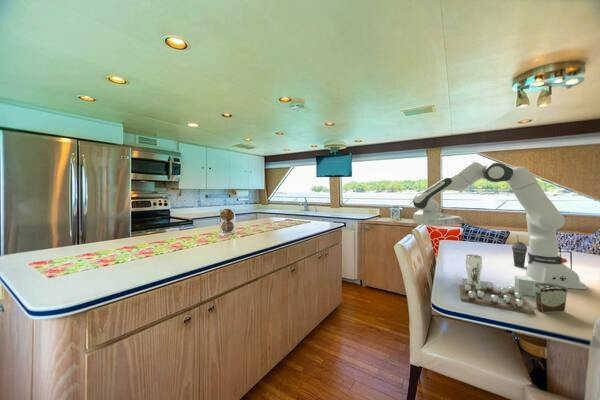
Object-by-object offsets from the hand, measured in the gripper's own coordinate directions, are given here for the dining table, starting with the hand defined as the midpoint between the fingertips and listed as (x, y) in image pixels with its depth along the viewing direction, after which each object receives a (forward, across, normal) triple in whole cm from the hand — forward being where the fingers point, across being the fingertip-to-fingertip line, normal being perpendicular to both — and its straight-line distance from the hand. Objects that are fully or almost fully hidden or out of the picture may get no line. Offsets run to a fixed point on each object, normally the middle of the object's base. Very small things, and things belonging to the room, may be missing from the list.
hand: (460, 221), depth 140 cm
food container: (+40, -10, +32) cm, 52 cm away
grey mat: (+12, -7, +31) cm, 34 cm away
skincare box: (+29, +1, +32) cm, 43 cm away
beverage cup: (+8, +47, +32) cm, 57 cm away
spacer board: (+25, -19, +31) cm, 44 cm away
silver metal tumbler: (+12, -9, +31) cm, 35 cm away
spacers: (+25, -19, +31) cm, 44 cm away
